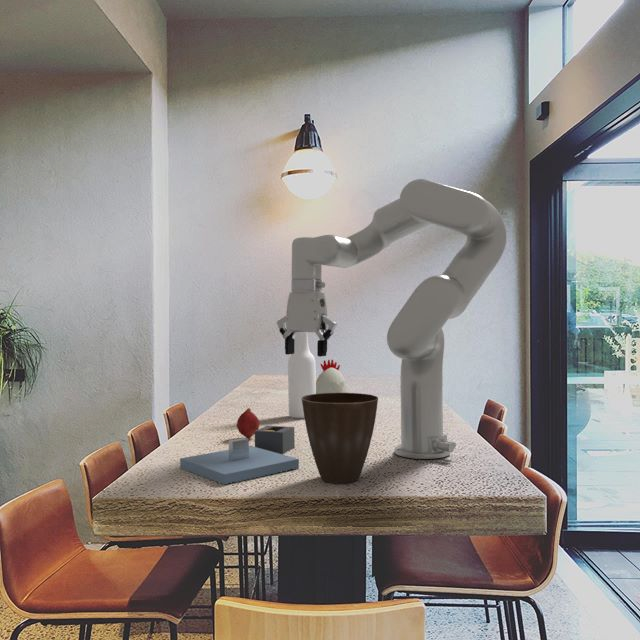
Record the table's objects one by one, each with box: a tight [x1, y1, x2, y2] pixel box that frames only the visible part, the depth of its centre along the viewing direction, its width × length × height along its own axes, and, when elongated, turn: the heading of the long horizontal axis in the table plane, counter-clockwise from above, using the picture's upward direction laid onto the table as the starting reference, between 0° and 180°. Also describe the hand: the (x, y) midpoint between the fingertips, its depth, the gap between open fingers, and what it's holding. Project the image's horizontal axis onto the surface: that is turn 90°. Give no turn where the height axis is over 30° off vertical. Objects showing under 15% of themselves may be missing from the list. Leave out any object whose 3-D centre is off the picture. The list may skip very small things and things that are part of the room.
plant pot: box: [302, 392, 379, 484], centre depth 119 cm, size 15×15×16 cm
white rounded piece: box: [316, 359, 350, 394], centre depth 237 cm, size 14×14×15 cm
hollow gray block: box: [254, 425, 296, 455], centre depth 145 cm, size 7×7×5 cm
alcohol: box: [287, 332, 317, 420], centre depth 193 cm, size 9×9×30 cm
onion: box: [236, 407, 260, 439], centre depth 159 cm, size 6×6×8 cm
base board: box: [179, 445, 300, 485], centre depth 128 cm, size 18×18×2 cm
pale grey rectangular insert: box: [228, 437, 250, 461], centre depth 128 cm, size 2×4×4 cm, turn 130°
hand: (305, 355), depth 153 cm, fingers open, 9 cm apart
